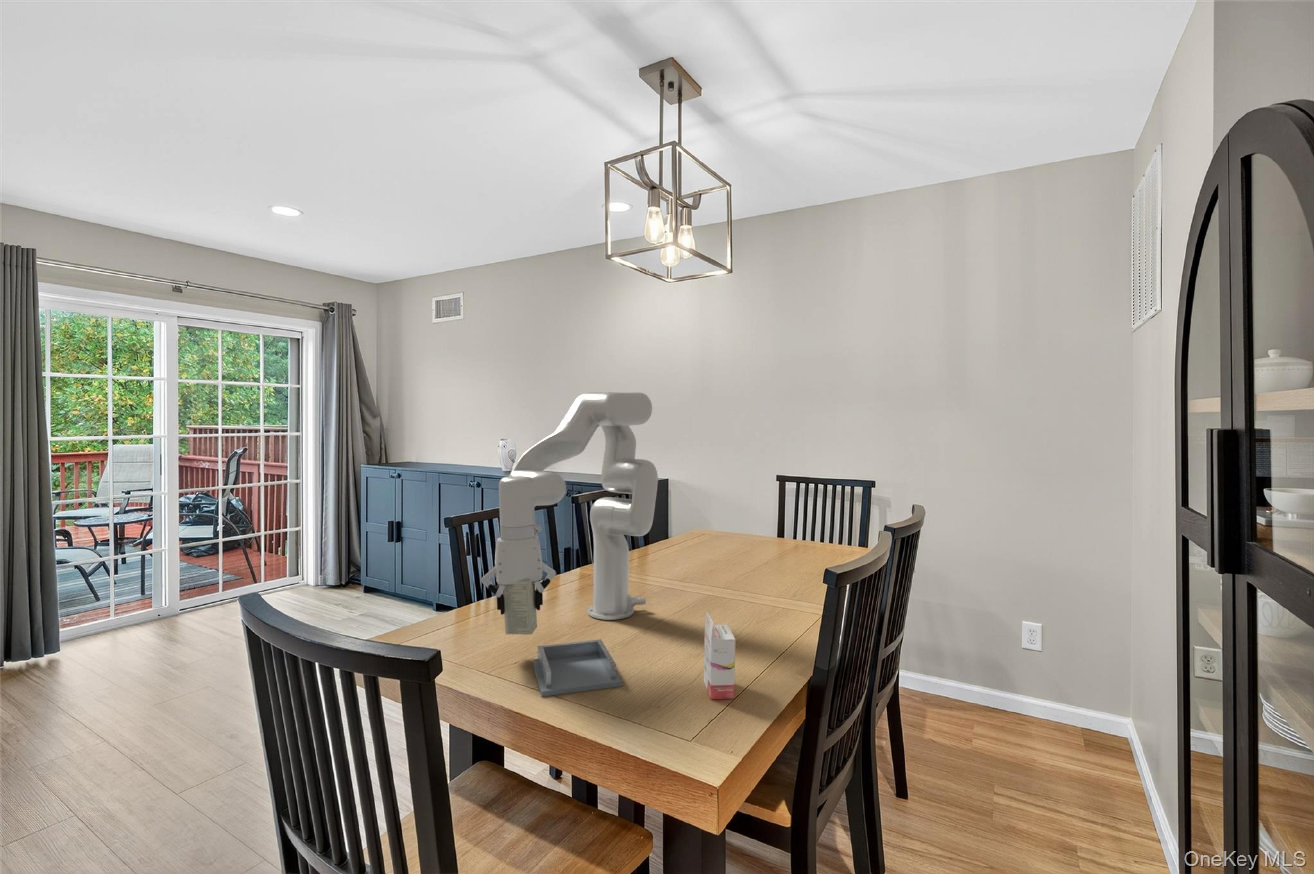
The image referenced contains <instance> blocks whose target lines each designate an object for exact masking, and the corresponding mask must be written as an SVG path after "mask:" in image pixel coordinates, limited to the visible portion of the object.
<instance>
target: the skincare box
mask: <svg viewBox="0 0 1314 874" xmlns="http://www.w3.org/2000/svg"><path fill="white" fill-rule="evenodd" d="M535 590H536V586H535V584H534V583H533V582H531V580H526V581H520V582H516V584H512V585H506V587H505V589H504V591H503V596H504V614H503V615H504V628H505V629H504V630H505V635H523V636H525V635H533V633H534V632H535V631H536V629H537V627H538V623H537V622H538V621H537V618H538V617H537V609H536V597H535Z"/></svg>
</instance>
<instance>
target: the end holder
mask: <svg viewBox="0 0 1314 874" xmlns="http://www.w3.org/2000/svg"><path fill="white" fill-rule="evenodd" d="M532 666H533V670H534V673H535V677H536V680H537V684H538V689H539V691H540V695H541V697H550V696H556V695H557V696H559V695H566V694H573V693H579V692H587V691H594V690H602V689H603V690H604V689H611V688H617V687H623V680H622V678H621V677H620V674H619V673H618V671H617V664H616V662H615V660H614V659H613V657H612V656H611V654H610V652H609V650H608V648H607V647H606V645H605V644H604V641H603V640H602V639H590V640H583V641H581V640H580V641H573V642H572V641H571V642H565V643H564V642H563V643H556V644H555V643H554V644H545V645H537V658H533V659H532Z"/></svg>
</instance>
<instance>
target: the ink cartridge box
mask: <svg viewBox="0 0 1314 874" xmlns="http://www.w3.org/2000/svg"><path fill="white" fill-rule="evenodd" d="M705 614H706V616H705V624H704V654H703V655H704V657H703V659H704V660H703V664H704V665H703V682H704V685H705V687H706V691H707V693H708V696H709V697H710V699H711V700H734V699H735V688H736V687H735V686H736V685H735V681H736V680H735V677H736V674H735V673H736V672H735V671H736V663H735V662H736V638H735V636H734V634H733V632H732V631H731V629H730V626H729V625H728V624H714V622H713V620H712V618H711V616H710V614H709V611H706V613H705Z"/></svg>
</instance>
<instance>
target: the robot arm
mask: <svg viewBox="0 0 1314 874" xmlns="http://www.w3.org/2000/svg"><path fill="white" fill-rule="evenodd" d="M652 413H653V404H652V400H651V398H650V397H649V396H648V395H647V394H645V393H643V392H618V391H617V392H611V391H609V392H606V391H605V392H604V391H603V392H601V391H600V392H596V391H595V392H594V391H593V392H585V393H582V394H579V396H577V397H576V398H575V399H574V401H573V402H572V403H571V406H570V407H569V408H568V410H567V412H566V414H565V415H564V417H563V418H562V420H561V421H560V423H559V424H558V425H557V427H556V429H555V430H554V431H553V432H552V433H551V434H550V435H548V436H546V437H544V438H543V439H542V440H540V441H539V442H537V443H536V444H534V445H533V446H532V447H530V448H529V449H527V450H526V451H525V452H524V453H523V454H522V455H521V456H520V457H519V459H518V460H517V462H516V464H515V465H514V467H513V468H512V470H511V471H510V473H509V475H508V476H504V477H503V478H501V479H500V480H499V482H498V500H499V502H498V504H499V531H500V532H499V535H500V537H497V539H496V542H495V551H494V553H495V554H494V567H492V568H491V569H490V570H489V571H488V572H487V573H485V574H484V575H483V576H482V577H481V579H480V581H481V584H483V585H484V586H485V587H486V588H487V590H488V591H490V592H491V593H492V594H493V595H495V597H496V608H497V609H496V610H497V611H500V615H501V616H502V615H504V596H503V591H504V589H505V587H506V585H512V584H516V582H520V581H526V580H531V582H533V583H534V584H535V597H536V611H541V606H543V604H544V600H543V598H544V597H543V596H544V595H543V592H544V591H545V590H546V588H547V587H548V586H549V584H551V582H552V580H553V579H554V578H555V577H556V575H557V572H556V570H555V569H553V568H551V567H550V566H549V565H547V564H545V563H544V562H543V560H542V551H541V543H540V538H539V536H538V534H537V533H538V532H542V531H543V527H542V524H539V525H538V524H537V523H536V519H535V518H536V516H535V515H536V514H535V513H536V511H535V508H536V506H551V505H552V506H553V505H555V504H557V503H559V502H560V501H561V500H563V498H564V497H565V495H566V491H567V485H566V481H565V479H564V478H563V476H561V475H560V474H558V473H555V472H551V471H544V470H546V469H548V468H549V467H551V466H552V465H555V464H558V463H560V462H563V461H566V460H569V459H572V458H576V457H577V456H579V455H580V454H582V453H583V452H584V451H585V449H586V447H587V446H588V444H589V443H590V441H591V440H592V437H593V436H594V435H595V432H596V431H597V429H598V428H599V427H601V430H602V432H603V435H604V439H605V440H604V441H605V444H604V445H605V446H604V451H603V452H604V454H603V461H602V467H601V473H600V474H601V475H600V483H601V485H602V488H603V489H604V490H605V491H608V492H611V493H617V494H627V495H628V494H629V495H631V498H624V497H613V496H604V497H601V498H598V499H597V500H595V501H594V502H593V503H592V505H591V507H590V511H589V520H590V525H591V530H592V538H593V540H592V541H593V604H591V605H590V606H589V607H588V608H587V614H588V615H589V616H590V617H592V618H593V619H598V620H603V621H605V620H606V621H615V620H622V619H626V618H629V617H631V616H632V615H634V613H635V606H641V605H646V604H647V599H646V597H639V596H638V595H635V596H631V595H630V594H629V587H630V585H629V583H630V582H629V581H630V580H629V578H630V577H629V575H630V573H629V572H630V571H629V570H630V569H629V568H630V567H629V566H630V565H629V564H630V562H629V561H630V560H629V557H630V550H629V549H630V548H629V544H628V541H627V539H626V536H632V537H643V536H646V534H648V533H649V532H650V531H651V528H652V526H653V523H654V522H653V521H654V518H655V517H654V515H655V508H656V502H657V501H656V500H657V492H658V484H659V476H658V471H657V468H656V466H655V464H654V463H653V462H651V461H650V460H648V459H641V458H640V459H639V458H636V450H637V449H636V448H637V439H636V437H635V436H636V435H635V433H634V432H633V430H632V429H631V427H630V426H637V425H638V426H640V425H643V424H645V423H647V422H648V421H649V420H650V418H651V416H652ZM543 572H545V573H546V576H545V577H544V578H543ZM494 577H495V581H496V584H497V585H495V584H494V583H493V582H492V581H491V579H492V578H494ZM542 579H543V580H542Z"/></svg>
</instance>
